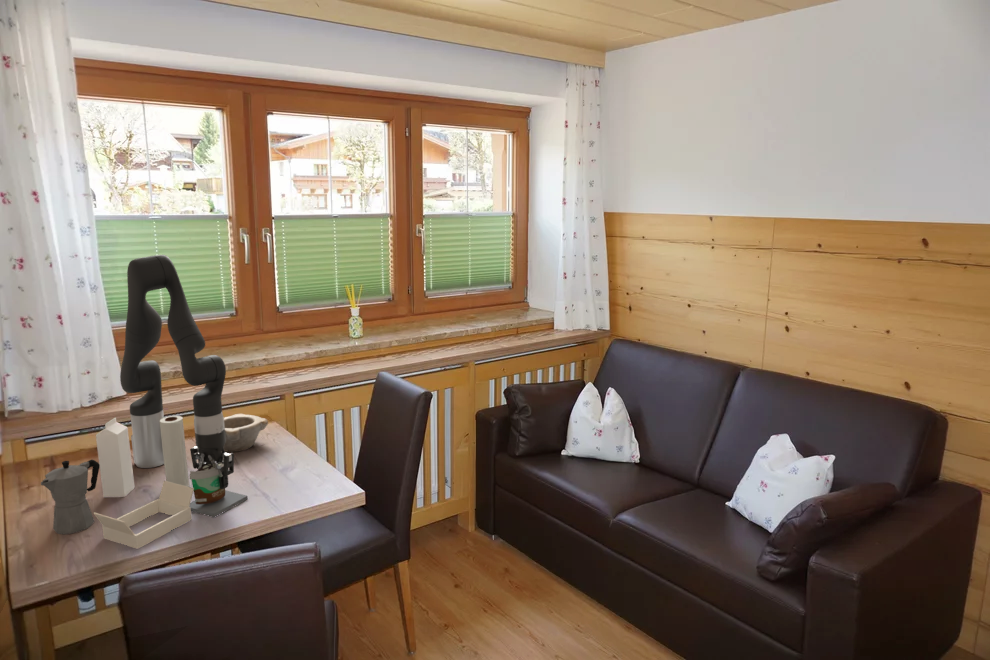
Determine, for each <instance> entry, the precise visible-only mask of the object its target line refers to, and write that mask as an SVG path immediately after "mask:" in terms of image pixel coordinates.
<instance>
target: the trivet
mask: <svg viewBox="0 0 990 660" xmlns="http://www.w3.org/2000/svg"><path fill="white" fill-rule="evenodd" d="M248 498H249V497H248V495H246V494H242V493H239V492H234V491H231V490H226V489H225V496H224V497H223V498H222V499H220V500H218V501H216V502H213V503H208V504H196V502H195V500H194V501H191V502H190V506H189V507H190V508H191V512H192V511H193V512H192V513H196V512H197V514H200V513H201V514H200V515H203V514H205V515H204V516H207V515H209V516H208V517H210V516H212V517H211V518H216V517H218V516H220V515H221V514H223V513H225V512H226V510H227V511H228V509H229V510H231V509H232V508H234V507H236V506H238V505H239V504H241V503H242V502H245V501H246V500H248ZM237 504H238V505H237ZM235 505H236V506H235ZM233 506H234V507H233ZM224 511H225V512H224ZM222 512H223V513H222ZM219 514H220V515H219ZM217 515H218V516H217ZM215 516H216V517H215Z"/></svg>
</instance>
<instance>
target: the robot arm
mask: <svg viewBox="0 0 990 660" xmlns="http://www.w3.org/2000/svg"><path fill="white" fill-rule="evenodd" d="M126 272H127V273H126V274H127V275H126V277H127V311H126V312H127V313H126V314H127V315H126V322H125V333H124V336H125V337H124V338H125V339H124V352H123V356H122V357H123V358H122V363H121V366H120V374H119V375H120V376H119V377H120V379H119V380H120V385H121V388H122V390H123V391H124V392H125V393H127V394H136V393H141V392H146V393H145V394H144V395H143V396H142V397H140V398H138V399H137V400H134V401H133V402H132V403H130V405H129V413H130V414H129V415H130V422H131V431H132V434H131V435H130V440H131V446H132V455H133V464H135V465H136V466H135V467H138V468H140V469H151V468H155V467H159V466H162V465H163V466H164V458H163V448H162V439H161V429H160V420H161V419H162V418H165V415H164V407H163V390H162V373H161V368H160V365H159V363H158V362H157V361H156V360H143V359H144V358H145V357H146V356H147V355H148V354H149V353H150V352H152V350H154V348H155V347H156V346H157V345H158V343H159V342H160V339H161V335H162V328H163V327H162V326H163V325H162V324H163V321H162V317H161V315H160V314H159V312H158V311H157V310H156V309H155V308H154V306H152V305H151V304H150V303H149V302H148V300H147V293H149V292H153V291H157V290H162V289H166V290H167V292H168V294H169V299H170V303H169V304H170V305H169V311H168V314H167V315H168V316H167V322H166V323H167V330H168V333H169V335H170V338H171V340H172V341H173V343H174V345H175V347H176V349H177V351H178V355H179V361H180V367H181V373H182V376H183V379H184V380H185V382H186V383H188V385H191V386H193V387H197V386H201V385H204V387H203V388H202V389H201V390H199V391H197V392H196V393H195V394H194V395H193V397H192V403H193V404H192V405H193V414H194V415H193V426H194V429H193V430H194V439H195V446H193V447H191V448H190V449H189V451H190V456H191V457H190V458H191V461H192V467H193V469H194V470H195V469H197V470H198V469H200V468H201V467H202V466H203V465H206V464H211V465H213V467H214V468H215V469H216V470H218V473H219V476H220V477H219V484H220V489H225V490H226V489H227V488H228V487H229V475H231V474H233V473H234V472H235V470H234V469H235V468H234V466H235V455H234V452H231V453H228V452H226V450H224V444H225V443H226V438H225V426H224V413H223V407H222V406H223V405H222V396H223V395H222V394H223V389H224V385H225V380H226V374H227V373H226V372H227V370H226V369H227V368H226V365H225V361H224V360H223V358H221V356H218V355H215V354H210V355H207V356H203V357H198V358H197V356H196V354H197V353H199V352H201V351H203V350H204V348H205V347H206V341H205V339H204V337H203V335H202V332H201V331H200V329H199V327H198V325H197V323H196V322H195V319H194V317H193V315H192V311H191V309H190V306H189V304H188V300H187V297H186V294H185V292H184V289H183V286H182V283H181V281H180V280H181V279H180V278H179V277H180V276H179V273H178V272H177V269H176V267H175V264H174V262H173V261H172V259H170V257H169V256H167V255H165V254H155V255H150V256H144V257H138V258H134V259H131V261H129V263H128V265H127V271H126ZM142 360H143V361H142ZM221 462H222V464H221V465H217V464H219V463H221ZM221 467H223V469H224V471H223V472H222V470H221Z"/></svg>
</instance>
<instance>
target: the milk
mask: <svg viewBox="0 0 990 660" xmlns="http://www.w3.org/2000/svg"><path fill="white" fill-rule="evenodd" d="M104 426H105V428H104V429H102V430H101V431H99V432H98V433H96V434H95V440H96V449H97V456H98V457H97V458H98V463H99V465H100V467H99V472H100V473H99V474H100V479H101V488H102V497H103V498H125V497H127V496H128V495H129V494H131V492H132V491H133V490H134V489H135V478H134V471H133V463H132V462H133V461H132V453H131V444H130V438H129V437H130V436H129V428H128V426H126V425H124V424H122V423H119V422H118V421H117V417H114V418H112V419H110V420H108V421H107V422H106V423H105V424H104Z"/></svg>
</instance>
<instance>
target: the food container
mask: <svg viewBox="0 0 990 660" xmlns="http://www.w3.org/2000/svg"><path fill="white" fill-rule="evenodd" d="M221 464H222V462H221V463H219V464H217V465H221ZM221 470H222V472H223V471H224V469H223V467H221ZM219 477H220V476H219V473H218V470H216V469H215V468H214V467H213V465H211V464H206V465H203V466H202V467H201V468H200V469H197V470H195V471H194V470H193V471H192V470H191V471H189V480H191V485H192V488H194V491H193V495H194V496H193V497H194V501H195V502H196V504H208V503H213V502H216V501H218V500H220V499H222V498H223V497H224V496H225V490H226V488H225V489H220V484H219Z"/></svg>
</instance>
